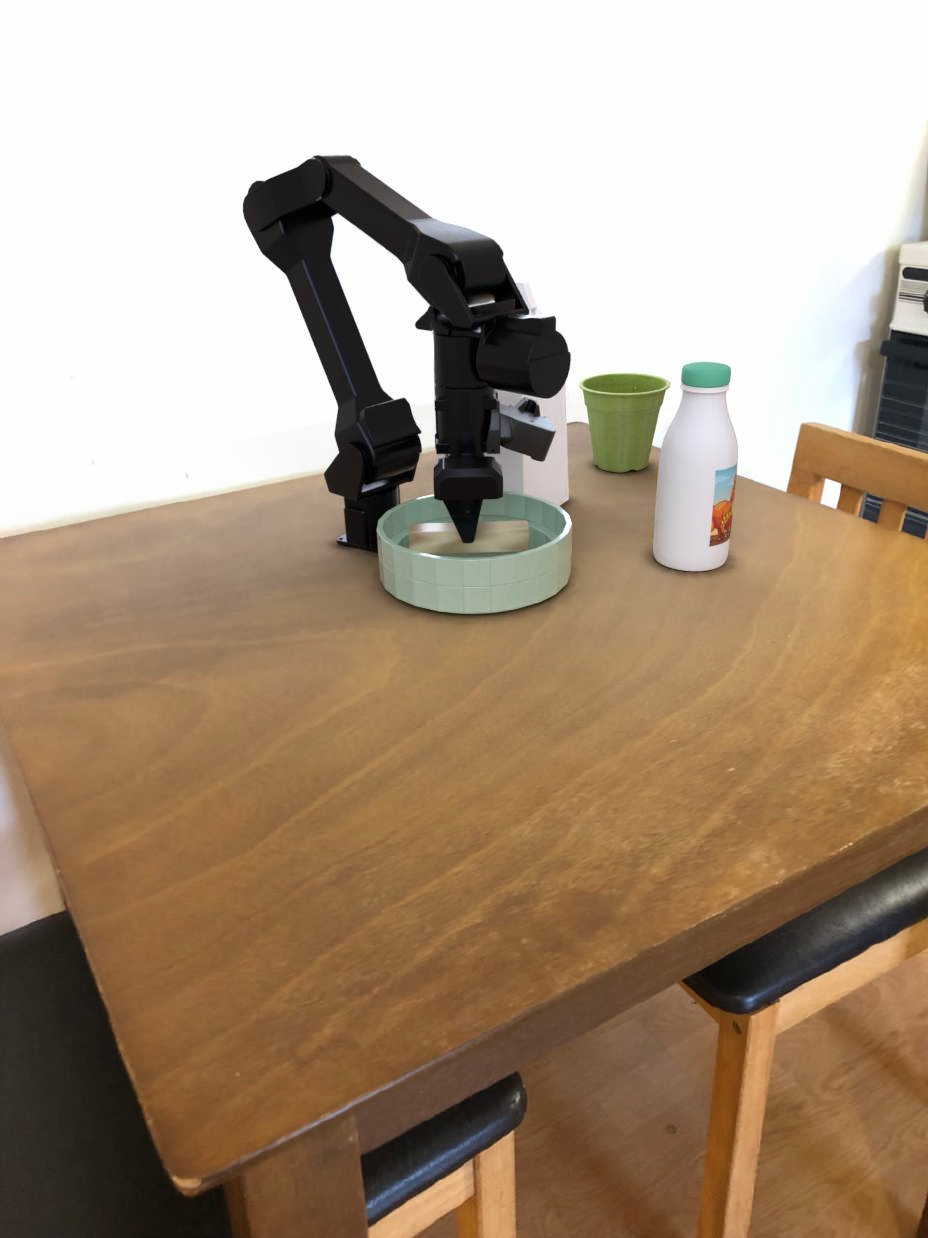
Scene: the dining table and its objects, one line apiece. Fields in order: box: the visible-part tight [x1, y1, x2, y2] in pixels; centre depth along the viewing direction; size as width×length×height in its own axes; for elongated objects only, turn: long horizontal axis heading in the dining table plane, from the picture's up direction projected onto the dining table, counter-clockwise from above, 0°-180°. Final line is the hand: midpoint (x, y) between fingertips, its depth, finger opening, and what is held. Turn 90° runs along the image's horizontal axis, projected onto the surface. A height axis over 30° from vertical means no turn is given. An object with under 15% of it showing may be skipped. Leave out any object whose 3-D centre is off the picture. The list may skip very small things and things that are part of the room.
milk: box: [437, 280, 570, 507], centre depth 108 cm, size 12×12×26 cm
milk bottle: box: [652, 361, 739, 572], centre depth 93 cm, size 8×8×20 cm
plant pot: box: [578, 372, 672, 474], centre depth 124 cm, size 12×12×11 cm
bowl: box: [377, 491, 573, 615], centre depth 94 cm, size 19×19×6 cm
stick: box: [409, 521, 529, 554], centre depth 94 cm, size 12×2×2 cm, turn 91°
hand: (468, 537), depth 94 cm, fingers closed on stick, 2 cm apart
